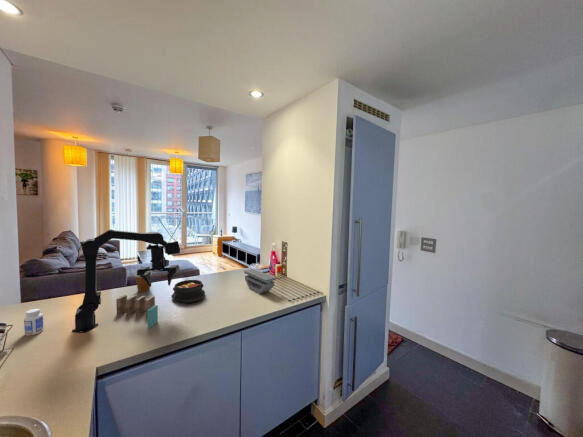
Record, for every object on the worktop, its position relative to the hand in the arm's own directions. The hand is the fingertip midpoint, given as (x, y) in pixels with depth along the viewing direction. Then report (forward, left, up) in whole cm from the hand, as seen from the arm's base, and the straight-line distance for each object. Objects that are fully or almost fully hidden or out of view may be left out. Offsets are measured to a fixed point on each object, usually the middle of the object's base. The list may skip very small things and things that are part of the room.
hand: (159, 285), depth 120 cm
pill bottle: (-24, +40, -14) cm, 49 cm away
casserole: (+19, -6, -14) cm, 24 cm away
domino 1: (-3, +18, -13) cm, 23 cm away
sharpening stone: (+35, -46, -14) cm, 59 cm away
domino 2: (-3, +13, -13) cm, 19 cm away
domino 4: (-3, +3, -13) cm, 14 cm away
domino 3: (-3, +8, -13) cm, 16 cm away
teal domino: (-13, -5, -13) cm, 19 cm away
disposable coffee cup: (+26, +27, -14) cm, 40 cm away
